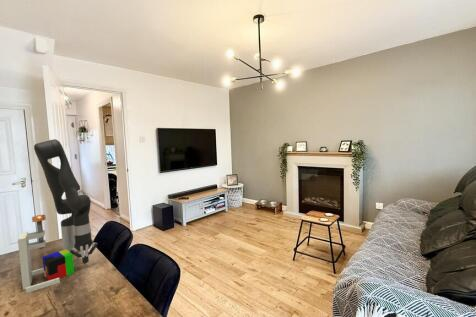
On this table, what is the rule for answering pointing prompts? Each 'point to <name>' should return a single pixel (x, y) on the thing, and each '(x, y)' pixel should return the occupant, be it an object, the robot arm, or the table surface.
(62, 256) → the puzzle toy
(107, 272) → the table surface
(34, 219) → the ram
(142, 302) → the table surface
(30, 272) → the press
